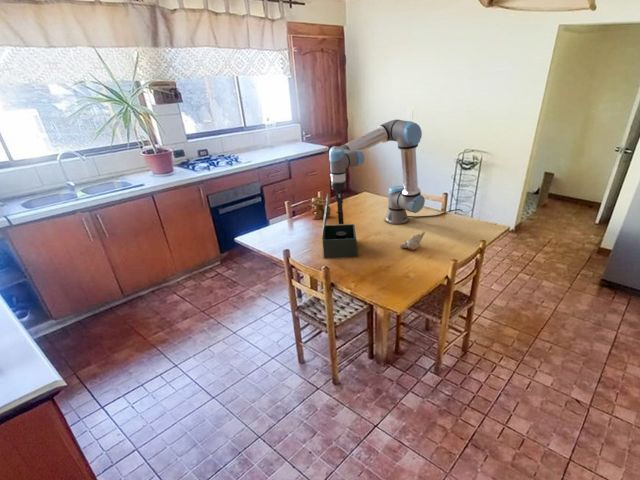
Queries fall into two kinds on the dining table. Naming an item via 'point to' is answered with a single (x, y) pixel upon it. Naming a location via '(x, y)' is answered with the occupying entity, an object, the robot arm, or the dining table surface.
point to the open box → (339, 242)
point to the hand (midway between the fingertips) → (340, 219)
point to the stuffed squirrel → (320, 210)
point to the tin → (341, 235)
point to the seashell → (413, 242)
